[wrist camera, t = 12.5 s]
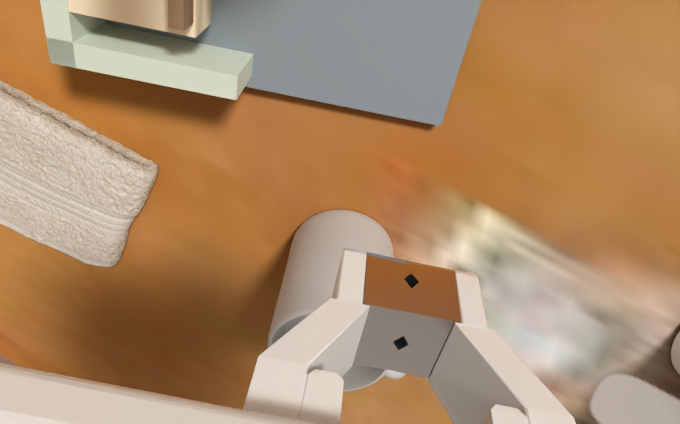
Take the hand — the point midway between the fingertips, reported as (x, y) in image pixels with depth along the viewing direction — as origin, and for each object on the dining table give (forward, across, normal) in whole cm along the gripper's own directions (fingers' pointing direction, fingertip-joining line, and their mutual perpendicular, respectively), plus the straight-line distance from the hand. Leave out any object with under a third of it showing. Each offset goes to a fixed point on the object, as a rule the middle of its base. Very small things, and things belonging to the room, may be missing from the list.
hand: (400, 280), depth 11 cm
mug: (+24, -1, +20) cm, 32 cm away
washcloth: (+24, +25, +16) cm, 39 cm away
